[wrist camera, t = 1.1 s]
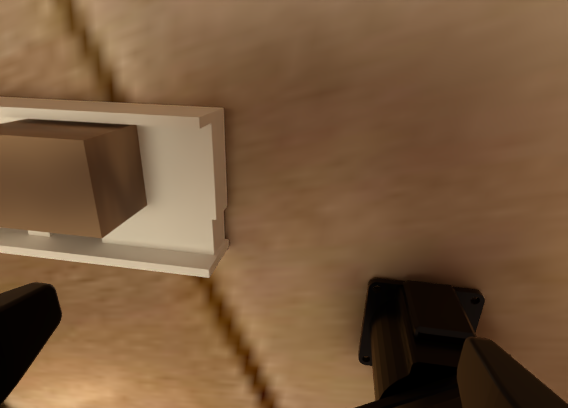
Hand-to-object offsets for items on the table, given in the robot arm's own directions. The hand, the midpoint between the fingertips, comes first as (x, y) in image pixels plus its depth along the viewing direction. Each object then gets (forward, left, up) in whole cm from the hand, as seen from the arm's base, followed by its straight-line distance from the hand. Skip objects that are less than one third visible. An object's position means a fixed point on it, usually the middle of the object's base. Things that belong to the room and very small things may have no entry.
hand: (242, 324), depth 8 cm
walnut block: (0, +12, -11) cm, 16 cm away
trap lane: (-1, +16, -13) cm, 20 cm away
